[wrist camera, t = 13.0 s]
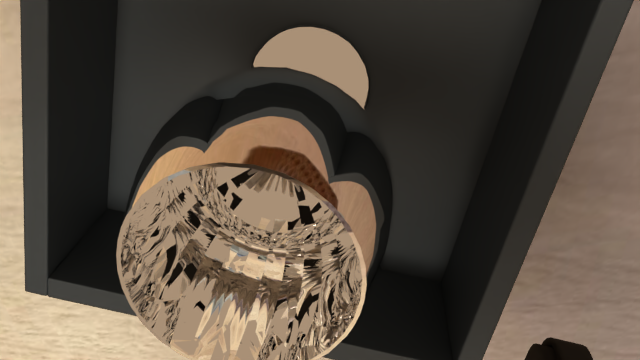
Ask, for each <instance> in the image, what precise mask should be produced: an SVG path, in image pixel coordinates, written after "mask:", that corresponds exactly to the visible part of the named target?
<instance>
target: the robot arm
mask: <svg viewBox="0 0 640 360" xmlns="http://www.w3.org/2000/svg"><path fill="white" fill-rule="evenodd" d="M525 360H593V358H592V356H591V354H590V352H589V350H588V349H587V347H586V346H584V345H581V344H576V343H572V342H568V341H563V340H559V339H555V338H547V339H546V340H544V341H543V343H542V345H540V344H533V345H532V346H531V348H530V349H529V351H528V353H527V356H526V358H525Z"/></svg>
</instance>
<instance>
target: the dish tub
mask: <svg viewBox="0 0 640 360" xmlns="http://www.w3.org/2000/svg"><path fill="white" fill-rule="evenodd" d="M633 1H634V0H20V8H21V68H22V127H23V187H24V247H25V291H27V292H31V293H36V294H40V295H45V296H47V295H48V296H49V297H53V298H57V299H62V300H66V301H71V302H75V303H80V304H84V305H89V306H93V307H98V308H102V309H107V310H112V311H116V312H121V313H125V314H130V315H134V316H137V315H136V313H135V312H134V311H133V309H132V308H131V306H130V304H129V302H128V300H127V298H126V296H125V294H124V291H123V289H122V286H121V283H120V279H119V275H118V271H117V258H116V252H117V242H118V237H119V233H120V229H121V225H122V222H123V218H124V214H125V210H126V207H127V203H128V199H129V195H130V191H131V188H132V184H133V180H134V178H135V176H136V173H137V171H138V169H139V166H140V164H141V161H142V159H143V157H144V154H145V152H146V150H147V148H148V147H149V145H150V143H151V141H152V140H153V138H154V137H155V135H156V134H157V132H158V131H159V130H160V128H161V127H162V125H163V124H164V122H165V121H166V119H167V118H168V117H169V116H170V115H171V114H172V112H173V111H174V110H175V109H176V108H177V107H178V105H179V104H181V103H182V102H183V101H184V100H185V99H186V98H187V97H189V96H190V95H191V94H192V93H194V92H195V91H197V90H198V89H200V88H201V87H203V86H205V85H207V84H208V83H210V82H212V81H214V80H215V79H217V78H220V77H222V76H224V75H227V74H229V73H232V72H236V71H240V70H244V69H249V68H250V65H251V63H252V60H253V58H254V55H255V53H256V52H257V50H258V49H259V47H260V46H261V45H262V44H263V43H264V42H265V41H266V40H267V39H268V38H269V37H270V36H272V35H273V34H275V33H276V32H278V31H280V30H283V29H285V28H287V27H291V26H295V25H303V24H313V25H319V26H324V27H327V28H330V29H332V30H335V31H337V32H339V33H340V34H342V35H343V36H345V37H346V38H348V39H349V40H350V41H351V42H352V43H353V44H354V45H355V46H356V47H357V48H358V50H359V51H360V52H361V54H362V56H363V58H364V60H365V61H366V63H367V67H368V70H369V74H370V77H371V94H370V98H369V103H368V107H367V109H366V113H367V114H368V115H369V116H370V117H371V119H372V121H373V122H374V124H375V126H376V128H377V130H378V131H379V133H380V135H381V137H382V139H383V142H384V144H385V147H386V149H387V152H388V154H389V157H390V161H391V165H392V170H393V176H394V187H395V207H394V220H393V226H392V230H391V235H390V239H389V243H388V246H387V250H386V253H385V257H384V260H383V263H382V266H381V269H380V272H379V275H378V277H377V279H376V281H375V283H374V285H373V288H372V290H371V292H370V294H369V296H368V298H367V300H366V303H365V305H364V307H363V309H362V311H361V313H360V316H359V317H358V319H357V321H356V323H355V325H354V327H353V328H352V330H351V331H350V332H349V334H348V335H347V336H346V337H345V338H344V339H343V340H342V341H341V342H340V343H339V344H338V345H337V346H336V347H335V348H333V349H332V350H331V351H330V352H329V353H328V354H326V355H324V356H322V357H325V358H329V359H334V360H482V359H483V357H484V354H485V352H486V349H487V347H488V345H489V342H490V340H491V338H492V335H493V333H494V330H495V328H496V326H497V323H498V321H499V319H500V316H501V314H502V311H503V309H504V307H505V304H506V302H507V300H508V297H509V295H510V292H511V290H512V288H513V285H514V283H515V281H516V278H517V276H518V274H519V271H520V269H521V266H522V264H523V262H524V259H525V257H526V255H527V252H528V250H529V247H530V245H531V243H532V240H533V238H534V236H535V233H536V231H537V228H538V226H539V224H540V221H541V219H542V217H543V214H544V212H545V209H546V207H547V205H548V202H549V200H550V198H551V195H552V193H553V190H554V188H555V186H556V183H557V181H558V179H559V176H560V174H561V172H562V169H563V167H564V164H565V162H566V160H567V157H568V155H569V153H570V150H571V148H572V145H573V143H574V141H575V138H576V136H577V134H578V131H579V129H580V126H581V124H582V122H583V119H584V117H585V115H586V112H587V110H588V107H589V105H590V103H591V100H592V98H593V96H594V93H595V91H596V88H597V86H598V84H599V81H600V79H601V77H602V74H603V72H604V70H605V67H606V65H607V62H608V60H609V58H610V55H611V53H612V51H613V48H614V46H615V43H616V41H617V39H618V36H619V34H620V32H621V29H622V27H623V24H624V22H625V20H626V17H627V15H628V13H629V10H630V8H631V5H632V3H633Z"/></svg>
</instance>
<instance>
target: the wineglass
mask: <svg viewBox="0 0 640 360" xmlns="http://www.w3.org/2000/svg"><path fill="white" fill-rule="evenodd" d="M370 94H371V77H370V74H369V70H368V67H367V63H366V61H365V60H364V58H363V56H362V54H361V52H360V51H359V50H358V48H357V47H356V46H355V45H354V44H353V43H352V42H351V41H350V40H349V39H348V38H346V37H345V36H343V35H342V34H340V33H339V32H337V31H335V30H332V29H330V28H327V27H324V26H319V25H313V24H303V25H295V26H291V27H287V28H285V29H283V30H280V31H278V32H276V33H275V34H273V35H272V36H270V37H269V38H268V39H267V40H266V41H265V42H264V43H263V44H262V45H261V46H260V47H259V49H258V50H257V52H256V53H255V55H254V58H253V60H252V63H251V65H250V68H249V69H244V70H240V71H236V72H232V73H229V74H227V75H224V76H222V77H220V78H217V79H215V80H214V81H212V82H210V83H208V84H207V85H205V86H203V87H201V88H200V89H198V90H197V91H195V92H194V93H192V94H191V95H190V96H189V97H187V98H186V99H185V100H184V101H183V102H182V103H181V104H179V105H178V107H177V108H176V109H175V110H174V111H173V112H172V114H171V115H170V116H169V117H168V118H167V119H166V121H165V122H164V124H163V125H162V127H161V128H160V130H159V131H158V132H157V134H156V135H155V137H154V138H153V140H152V141H151V143H150V145H149V147H148V148H147V150H146V152H145V154H144V157H143V159H142V161H141V164H140V166H139V169H138V171H137V173H136V176H135V178H134V180H133V184H132V188H131V191H130V195H129V199H128V203H127V207H126V210H125V214H124V218H123V222H122V225H121V229H120V233H119V237H118V242H117V252H116V258H117V271H118V275H119V279H120V283H121V286H122V289H123V291H124V294H125V296H126V298H127V300H128V302H129V304H130V306H131V308H132V309H133V311H134V312H135V313H136V315H137V316H138V318H139V319H140V320H141V322H142V323H143V324H144V325H145V326H146V327H147V328H148V329H149V330H150V331H151V332H152V333H153V334H154V335H155V336H156V337H157V338H158V339H159V340H160V341H161V342H163V343H164V344H166V345H167V346H169V347H170V348H171V349H173V350H174V351H176V352H177V353H179V354H180V355H182V356H185V357H187V358H189V359H191V360H317V359H319V358H320V357H322V356H324V355H326V354H328V353H329V352H330V351H331V350H332V349H333V348H335V347H336V346H337V345H338V344H339V343H340V342H341V341H342V340H343V339H344V338H345V337H346V336H347V335H348V334H349V332H350V331H351V330H352V328H353V327H354V325H355V323H356V321H357V319H358V317H359V316H360V313H361V311H362V309H363V307H364V305H365V303H366V300H367V298H368V296H369V294H370V292H371V290H372V288H373V285H374V283H375V281H376V279H377V277H378V275H379V272H380V269H381V266H382V263H383V260H384V257H385V253H386V250H387V246H388V243H389V239H390V235H391V230H392V226H393V220H394V207H395V187H394V176H393V170H392V165H391V161H390V157H389V154H388V152H387V149H386V147H385V144H384V142H383V139H382V137H381V135H380V133H379V131H378V130H377V128H376V126H375V124H374V122H373V121H372V119H371V117H370V116H369V115H368V114H367V113H366V109H367V107H368V103H369V98H370Z"/></svg>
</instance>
